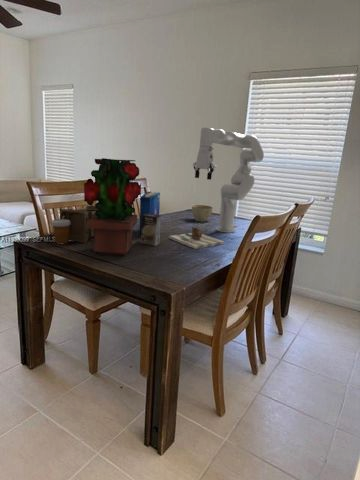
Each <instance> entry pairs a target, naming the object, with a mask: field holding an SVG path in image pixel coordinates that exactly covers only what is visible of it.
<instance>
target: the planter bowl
mask: <svg viewBox="0 0 360 480" xmlns="http://www.w3.org/2000/svg"><path fill="white" fill-rule="evenodd" d="M213 208H214V207H213V206H211V205H207V204H193V205H191V213H192V215H193V217H194V220H195V221H197V222H205V223H206V222H207V221H208V220H209V218H210V217H211V215H212V213H213Z"/></svg>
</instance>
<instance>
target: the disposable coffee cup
mask: <svg viewBox="0 0 360 480" xmlns="http://www.w3.org/2000/svg"><path fill="white" fill-rule="evenodd" d="M70 224H71V223H70V220H67V219H60V218H57V219H53V220H52V221H51V225H52V231H53V236H54V241H55V242H56V243H60V244H59V245H62V244H61V243H67V244H69V241H68V239H69V229H70ZM55 242H54V243H55ZM56 243H55V244H56Z"/></svg>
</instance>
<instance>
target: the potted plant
mask: <svg viewBox="0 0 360 480" xmlns="http://www.w3.org/2000/svg"><path fill="white" fill-rule="evenodd" d="M135 162H136V160H134V159H114V158H103V157H102V158H94V163H95V164H96V165H99V166H98V169H95V170H94V169H93V170H92V171H90V175H91V177H94V179H92V178H88V179H87V180H86V182H84V183H83V190H84V191H83V195H84V196H83V197H84V199H83V200H84V202H86V203H87V205H88V206H93V205H94V206H95V207H96V208H97V209H99V210H97V211H96V212H95V216H93V217H92V218H90V219H89V220H88V228H94V236H93V252H98V254H99V255H100V254H102V255H103V256H116V257H117V256H118V257H124V255H125V254H128V252H129V250H130V249H131V248H132V246H133V228H134V227H135V226H136V224H137V223H138V214H134V213H135V212H136V208H135V207H133V205H134V203H135V201H136V199H138V198H140V197H141V196H142V183H139V182H138V181H135V180H136V179H137V177H139V176H140V168H139V167H138V166H137V164H136V163H135ZM94 202H96V203H95V204H94Z"/></svg>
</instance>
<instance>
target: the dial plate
mask: <svg viewBox="0 0 360 480" xmlns="http://www.w3.org/2000/svg"><path fill="white" fill-rule="evenodd" d="M188 234H191V235H192V232H189V233H188ZM168 237H169V238H168V239H170V240H172V241H175V242H177V243H179V244H182V245H185V246H187V247H189V248H191V249H195V250H196V249H203V248H207V247H208V248H209V247H214V246H220V245H221V246H222V245H224V244H225V241H224V240H220V239H217V238H215V237H213V236H209V235H206V234H203V233H202V237H201V238H200V239H194V238H192V236H189V235H187V234H186V233H181V234H175V235H173V234H172V235H169V236H168Z"/></svg>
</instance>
